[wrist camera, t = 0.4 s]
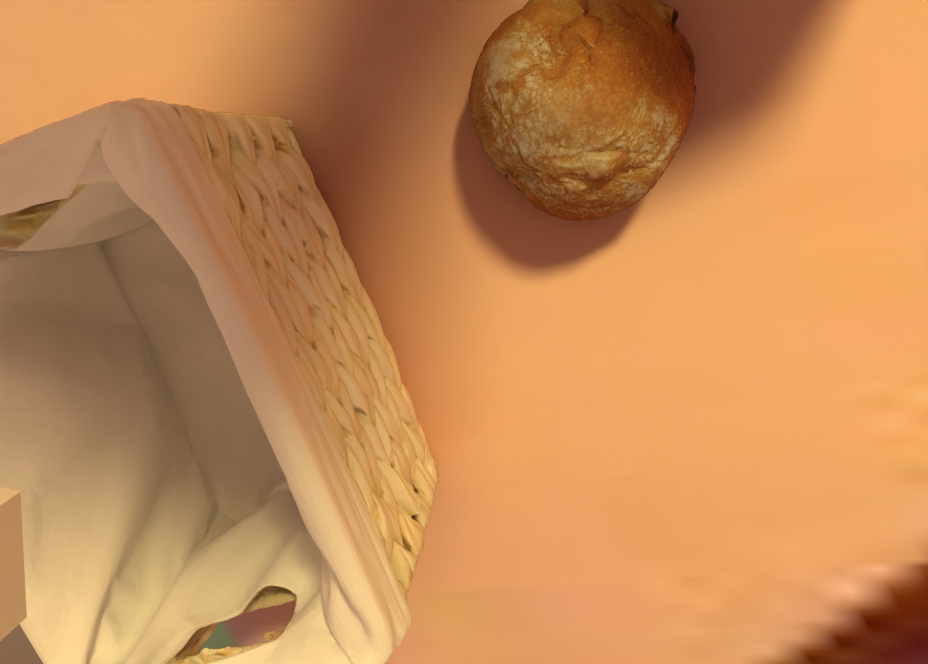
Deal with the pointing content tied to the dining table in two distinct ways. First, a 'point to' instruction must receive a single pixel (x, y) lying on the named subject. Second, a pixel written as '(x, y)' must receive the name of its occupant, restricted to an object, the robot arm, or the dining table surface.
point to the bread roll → (584, 101)
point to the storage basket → (197, 397)
